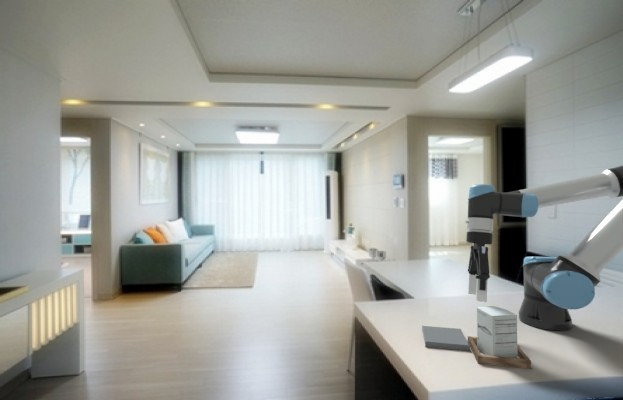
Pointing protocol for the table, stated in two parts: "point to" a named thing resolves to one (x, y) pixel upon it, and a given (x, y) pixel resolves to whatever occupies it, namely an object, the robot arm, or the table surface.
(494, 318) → the supplement box
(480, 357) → the walnut holder
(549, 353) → the table surface
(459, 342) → the slate trivet
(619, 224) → the robot arm
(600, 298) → the table surface
